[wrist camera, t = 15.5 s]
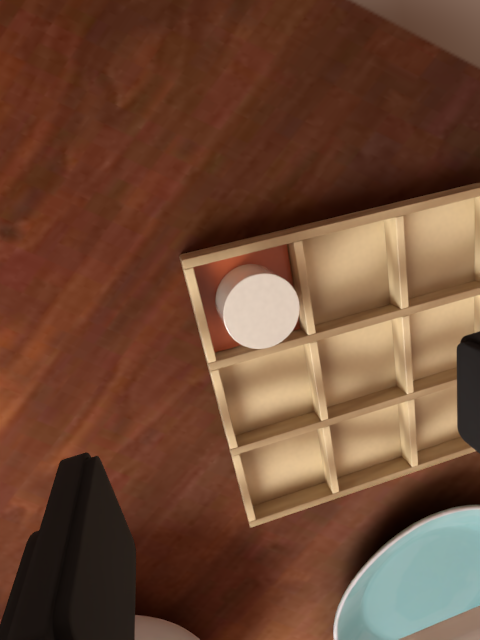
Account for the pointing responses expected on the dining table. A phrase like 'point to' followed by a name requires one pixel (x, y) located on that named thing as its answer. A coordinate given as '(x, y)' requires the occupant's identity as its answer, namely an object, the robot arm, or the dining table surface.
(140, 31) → the dining table surface
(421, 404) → the wooden compartment tray
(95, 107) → the dining table surface
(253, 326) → the white cylinder puck
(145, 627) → the serving bowl
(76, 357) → the dining table surface
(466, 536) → the plate
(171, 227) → the dining table surface
